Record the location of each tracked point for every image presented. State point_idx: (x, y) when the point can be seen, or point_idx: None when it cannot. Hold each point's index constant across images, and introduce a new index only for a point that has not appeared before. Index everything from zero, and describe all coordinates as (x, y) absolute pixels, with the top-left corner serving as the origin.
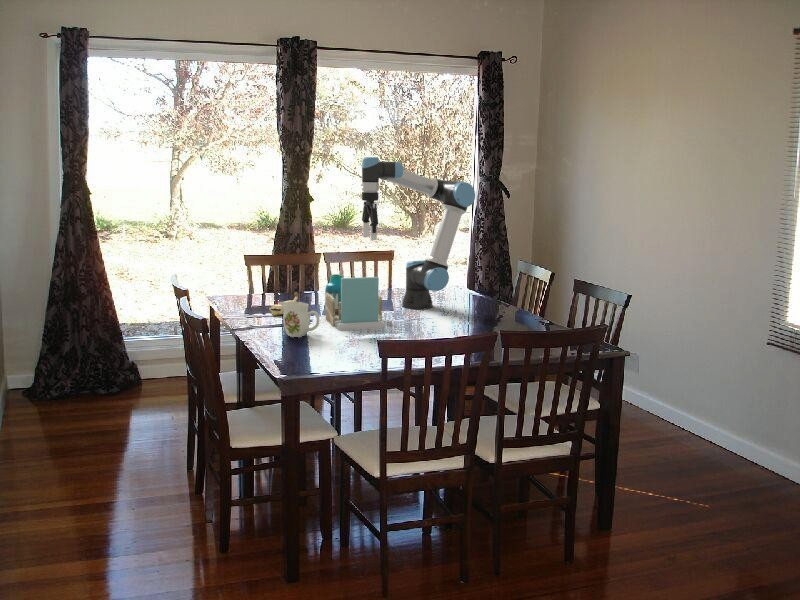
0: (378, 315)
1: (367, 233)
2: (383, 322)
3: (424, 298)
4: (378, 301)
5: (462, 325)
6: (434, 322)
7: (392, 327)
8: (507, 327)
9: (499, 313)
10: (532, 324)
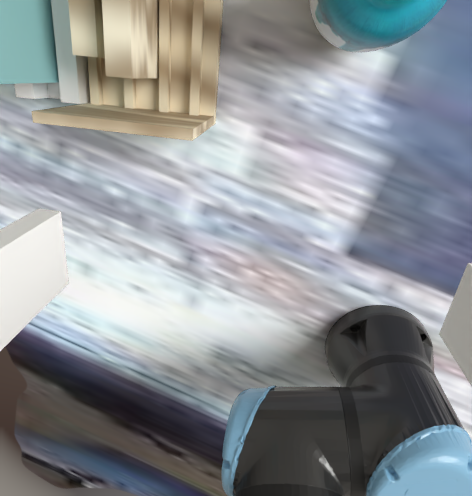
0: (93, 106)
1: (470, 346)
2: (16, 93)
3: (335, 371)
4: (67, 111)
5: (87, 336)
6: (136, 291)
7: (90, 146)
8: (52, 407)
9: (201, 462)
10: (75, 457)
